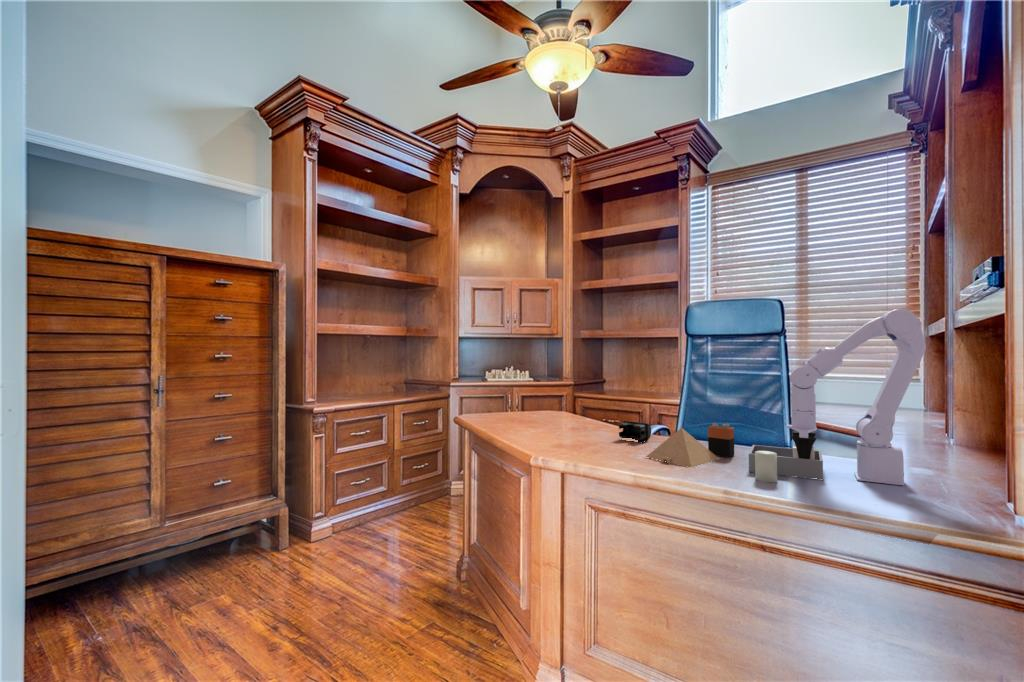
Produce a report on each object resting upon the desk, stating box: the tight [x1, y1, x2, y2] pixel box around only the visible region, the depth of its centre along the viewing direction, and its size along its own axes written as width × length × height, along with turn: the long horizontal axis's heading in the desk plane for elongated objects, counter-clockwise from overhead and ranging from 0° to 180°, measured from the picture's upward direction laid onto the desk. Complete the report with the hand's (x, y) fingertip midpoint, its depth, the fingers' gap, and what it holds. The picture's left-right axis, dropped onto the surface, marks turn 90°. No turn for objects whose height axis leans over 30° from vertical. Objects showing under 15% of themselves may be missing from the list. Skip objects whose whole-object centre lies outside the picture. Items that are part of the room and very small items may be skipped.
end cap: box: [618, 420, 652, 443], centre depth 176 cm, size 10×7×7 cm
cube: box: [792, 444, 816, 460], centre depth 130 cm, size 5×5×5 cm
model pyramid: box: [645, 427, 720, 468], centre depth 147 cm, size 17×17×10 cm
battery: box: [707, 422, 735, 459], centre depth 151 cm, size 4×7×10 cm, turn 44°
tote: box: [748, 444, 824, 480], centre depth 132 cm, size 17×13×5 cm
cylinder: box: [754, 451, 778, 483], centre depth 123 cm, size 5×5×7 cm
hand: (804, 459), depth 130 cm, fingers closed on cube, 5 cm apart
